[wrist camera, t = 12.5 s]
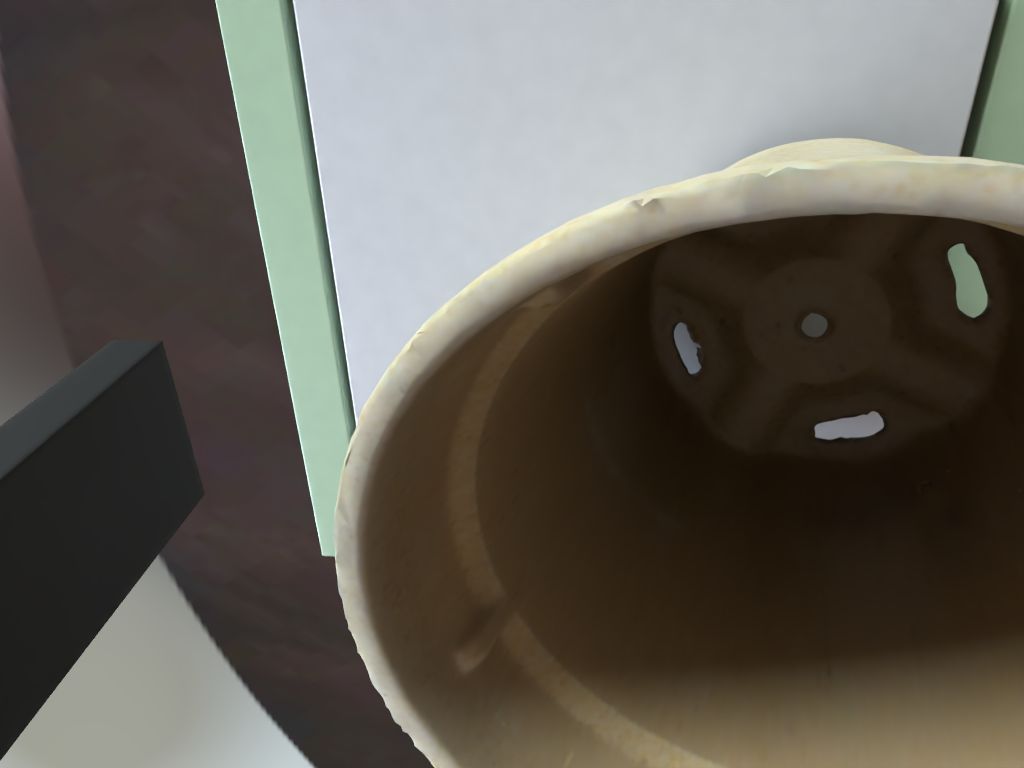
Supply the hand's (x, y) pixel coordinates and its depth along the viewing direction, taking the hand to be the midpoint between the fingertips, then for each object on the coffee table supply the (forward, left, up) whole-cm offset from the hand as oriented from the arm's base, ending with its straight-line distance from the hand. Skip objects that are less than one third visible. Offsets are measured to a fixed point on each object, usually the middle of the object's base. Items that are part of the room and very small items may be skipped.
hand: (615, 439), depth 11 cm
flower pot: (0, +3, -4) cm, 6 cm away
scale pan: (0, 0, -6) cm, 6 cm away
